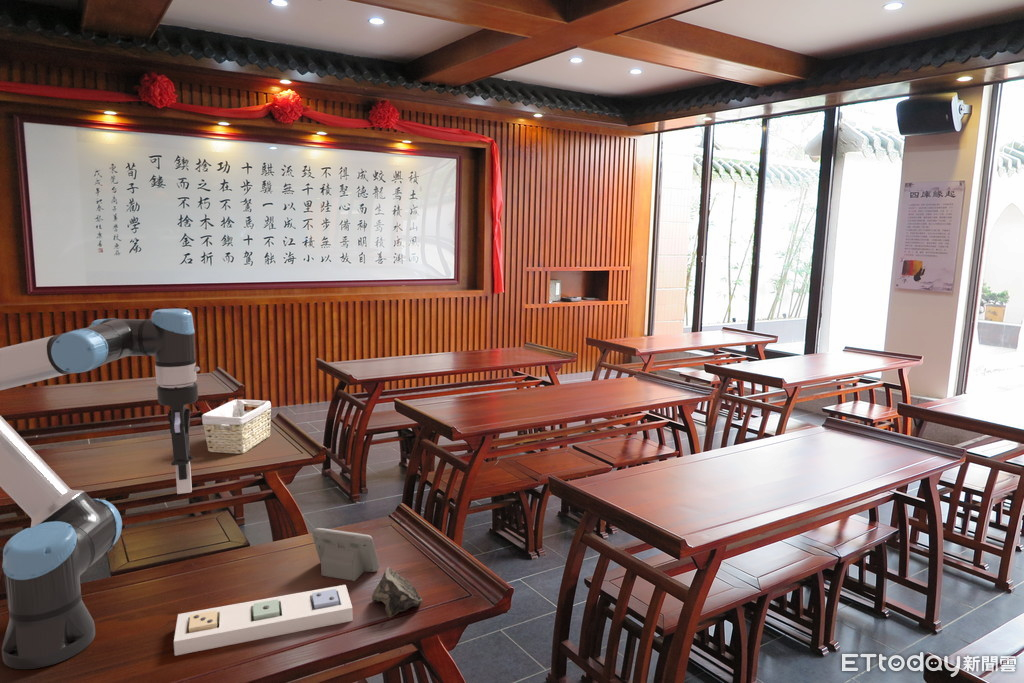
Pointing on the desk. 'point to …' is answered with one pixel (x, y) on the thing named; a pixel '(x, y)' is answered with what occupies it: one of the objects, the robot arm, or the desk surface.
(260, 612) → the tile one
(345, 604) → the tile panel
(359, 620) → the desk surface
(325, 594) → the tile two
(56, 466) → the desk surface
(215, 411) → the storage basket
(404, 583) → the grey rock
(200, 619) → the tile three
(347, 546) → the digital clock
